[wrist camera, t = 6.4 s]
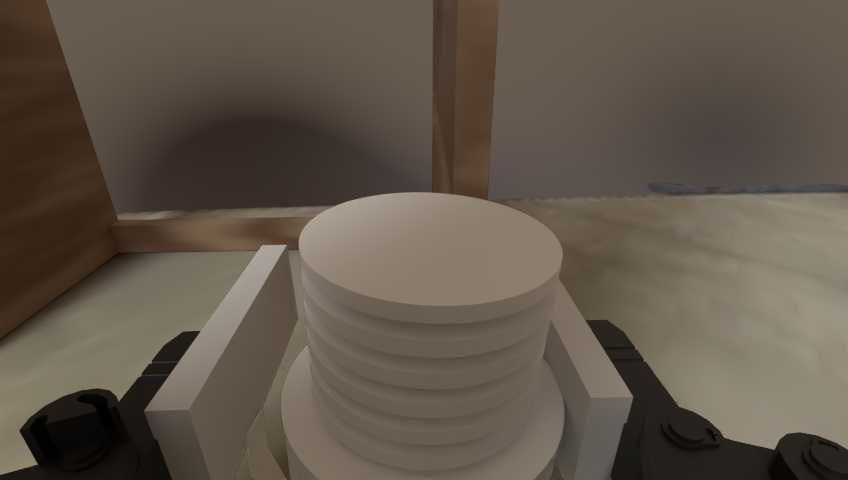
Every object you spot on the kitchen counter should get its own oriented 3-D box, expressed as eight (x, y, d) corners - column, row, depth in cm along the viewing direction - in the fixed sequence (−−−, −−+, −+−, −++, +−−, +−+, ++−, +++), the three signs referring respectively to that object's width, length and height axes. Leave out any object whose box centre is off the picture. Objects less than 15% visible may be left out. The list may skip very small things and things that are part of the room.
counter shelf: (448, 240, 31) (456, -142, 22) (476, 379, 18) (522, -390, 9) (109, 246, 30) (-27, -145, 21) (-106, 395, 18) (-665, -415, 9)
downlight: (207, 723, 9) (54, 337, 5) (311, 441, 15) (284, 168, 11) (595, 772, 9) (800, 400, 4) (537, 462, 15) (599, 187, 11)
